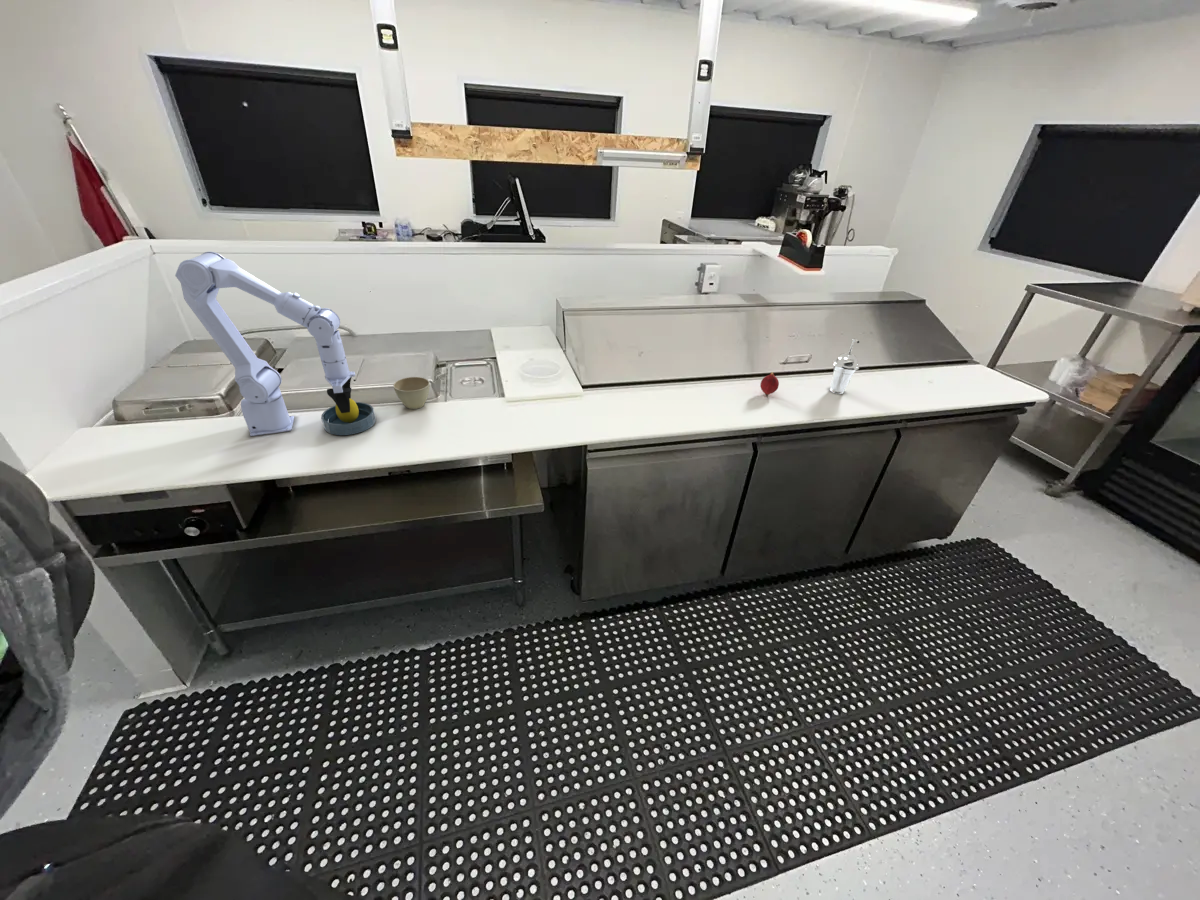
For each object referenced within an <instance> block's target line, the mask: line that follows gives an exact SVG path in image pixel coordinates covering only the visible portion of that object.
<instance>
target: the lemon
mask: <svg viewBox="0 0 1200 900" xmlns="http://www.w3.org/2000/svg"><path fill="white" fill-rule="evenodd" d="M355 402H356V401H355V399H353V398H350V412H348V413H341V412H340V410H339V408H338V407H337V405H336V404H335V405H336V414H337V416H338V418H339V419H340V420H342V421H343V422H348V423H352V422H353V421H355V420H356V419H357V417H358V415H359V409H358V406H357V404H356V403H355Z"/></svg>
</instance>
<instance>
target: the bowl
mask: <svg viewBox="0 0 1200 900" xmlns="http://www.w3.org/2000/svg"><path fill="white" fill-rule="evenodd" d="M355 403H356V404H357V406H358V409H359V415H358V417H357V419H356V420H355V421H353V422H352V423H348V422H343V421H342V420H340V419H339V418H338V416H337V414H336V404H335V405H333V406H331V407H328V408H327V409H325V410H324V411H323V412H322V414H321V417H320V420H321V423H322V426H323V429H324V431H326V433H329V434H330V435H335V436H350V435H356V434H359V433H362V432H365V431H367V430H369V429H371V428H372V427H373V426H374V425H375V423H376V422H377V416H376V413H375V408H374V407H373V406H372V405H371V404H370V403H367V402H363V401H362V402H361V401H355Z"/></svg>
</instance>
